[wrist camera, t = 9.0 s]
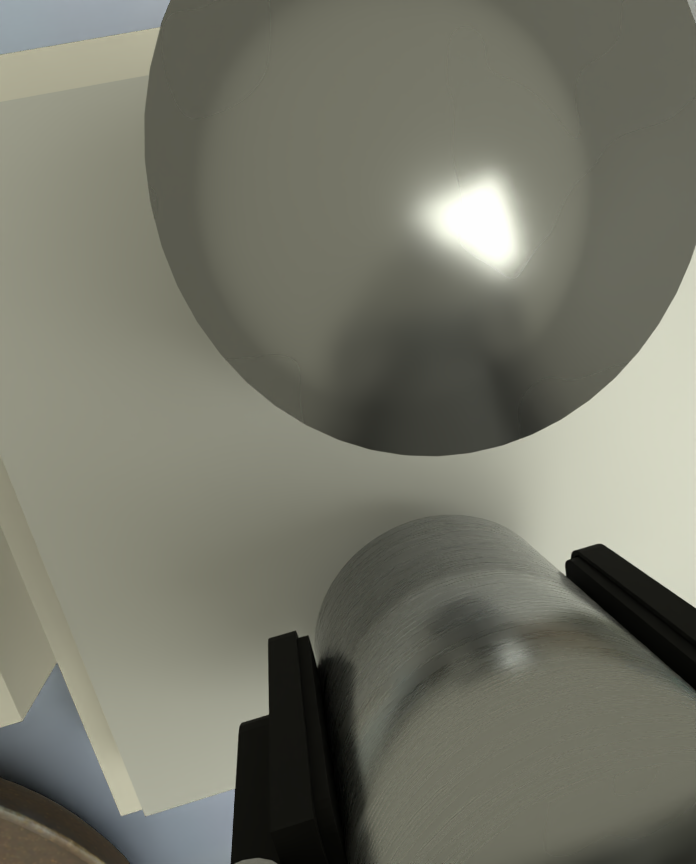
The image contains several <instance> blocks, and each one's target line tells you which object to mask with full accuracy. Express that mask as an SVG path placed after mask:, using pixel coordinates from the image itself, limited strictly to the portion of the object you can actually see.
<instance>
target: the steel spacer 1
mask: <svg viewBox="0 0 696 864" xmlns="http://www.w3.org/2000/svg"><path fill="white" fill-rule="evenodd" d="M144 136H145V166H146V174H147V181H148V189H149V196H150V204H151V208H152V212H153V216H154V219H155V223H156V227H157V231H158V235H159V239H160V242H161V246H162V249H163V251H164V254H165V256H166V259H167V261H168V264H169V266H170V269H171V271H172V274H173V276H174V279H175V281H176V284H177V286H178V288H179V290H180V292H181V294H182V295H183V297H184V299H185V301H186V303H187V305H188V306H189V308H190V310H191V312H192V314H193V315H194V317H195V319H196V321H197V323H198V324H199V325H200V327H201V328H202V330H203V331H204V332H205V334H206V335H207V336H208V338H209V339H210V341H211V342H212V343H213V345H214V346H215V347H216V349H217V350H218V352H219V353H220V354H221V355H222V356H223V358H224V359H225V360H226V361H227V362H228V363H229V364H230V365H231V366H232V367H233V368H234V369H235V370H236V371H237V372H238V374H239V375H240V376H241V377H242V378H243V379H244V380H245V381H246V382H247V383H248V384H249V385H251V386H252V387H253V388H254V389H255V390H257V391H258V392H259V393H260V394H262V395H263V396H264V397H265V398H266V399H268V400H269V401H270V402H271V403H272V404H274V405H275V406H276V407H278V408H279V409H281V410H283V411H284V412H286V413H287V414H289V415H291V416H292V417H294V418H295V419H297V420H299V421H300V422H302V423H303V424H305V425H307V426H309V427H311V428H313V429H315V430H318V431H320V432H322V433H324V434H326V435H329V436H331V437H333V438H335V439H337V440H340V441H343V442H347V443H350V444H353V445H357V446H360V447H363V448H366V449H370V450H375V451H381V452H387V453H393V454H399V455H408V456H447V455H457V454H467V453H473V452H477V451H482V450H486V449H490V448H494V447H499V446H503V445H505V444H508V443H511V442H513V441H516V440H519V439H522V438H524V437H527V436H530V435H532V434H534V433H536V432H538V431H540V430H542V429H544V428H546V427H548V426H550V425H552V424H554V423H556V422H557V421H559V420H561V419H563V418H564V417H566V416H567V415H569V414H570V413H572V412H573V411H575V410H576V409H578V408H579V407H581V406H582V405H583V404H585V403H586V402H588V401H589V400H591V399H592V398H593V397H594V396H595V395H596V394H597V393H599V392H600V391H601V390H602V389H603V388H604V387H605V386H607V385H608V384H609V383H610V382H611V381H612V380H613V379H615V378H616V377H617V375H618V374H619V373H620V372H621V371H622V370H623V369H624V368H625V367H626V366H627V364H628V363H629V362H630V361H631V360H632V359H633V358H634V357H635V356H636V355H637V353H638V352H639V351H640V350H641V348H642V347H643V345H644V344H645V343H646V341H647V340H648V339H649V337H650V336H651V334H652V333H653V332H654V330H655V329H656V327H657V326H658V325H659V323H660V321H661V320H662V318H663V316H664V314H665V313H666V311H667V309H668V307H669V306H670V304H671V302H672V300H673V299H674V297H675V295H676V293H677V291H678V289H679V286H680V284H681V282H682V279H683V277H684V275H685V273H686V270H687V268H688V266H689V263H690V261H691V258H692V255H693V252H694V249H695V246H696V23H695V21H694V18H693V15H692V13H691V10H690V7H689V5H688V2H687V0H170V3H169V5H168V8H167V10H166V13H165V15H164V18H163V20H162V23H161V27H160V30H159V34H158V38H157V42H156V46H155V50H154V54H153V58H152V62H151V66H150V71H149V80H148V88H147V96H146V104H145V113H144Z"/></svg>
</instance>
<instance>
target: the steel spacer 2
mask: <svg viewBox="0 0 696 864" xmlns="http://www.w3.org/2000/svg"><path fill="white" fill-rule="evenodd" d="M314 648H315V659H316V664H317V668H318V674H319V681H320V687H321V694H322V700H323V707H324V714H325V720H326V727H327V733H328V740H329V747H330V753H331V760H332V767H333V773H334V780H335V786H336V793H337V800H338V806H339V813H340V819H341V826H342V833H343V839H344V846H345V852H346V859H347V864H696V690H695V689H694V688H692V687H691V686H690V685H689V684H688V683H687V682H686V681H684V680H683V679H682V678H681V677H680V676H679V675H678V674H676V673H675V672H674V671H673V670H672V669H671V668H670V667H669V666H667V665H666V664H665V663H664V662H663V661H662V660H661V659H659V658H658V657H657V656H656V655H655V654H654V653H653V652H651V651H650V650H649V649H648V648H647V647H646V646H645V645H644V644H642V643H641V642H640V641H639V640H638V639H637V638H636V637H634V636H633V635H632V634H631V633H630V632H629V631H628V630H626V629H625V628H624V627H623V626H622V625H621V624H620V623H619V622H617V621H616V620H615V619H614V618H613V617H612V616H611V615H609V614H608V613H607V612H606V611H605V610H604V609H603V608H601V607H600V606H599V605H598V604H597V603H596V602H595V601H593V600H592V599H591V598H590V597H589V596H588V595H587V594H586V593H584V592H583V591H582V590H581V589H580V588H579V587H578V586H576V585H575V584H574V583H573V582H572V581H571V580H570V579H568V578H567V577H566V576H565V575H564V574H563V573H562V572H561V571H559V570H558V569H557V568H556V567H555V566H554V565H553V564H551V563H550V562H549V561H548V560H547V559H546V558H545V557H543V556H542V555H541V554H540V553H539V552H538V551H537V550H535V549H534V548H533V547H532V546H531V545H530V544H529V543H528V542H526V541H525V540H524V539H523V538H522V537H521V536H519V535H518V534H516V533H515V532H513V531H512V530H510V529H508V528H507V527H504V526H502V525H500V524H498V523H496V522H493V521H490V520H486V519H483V518H479V517H474V516H467V515H439V516H430V517H425V518H421V519H417V520H413V521H410V522H407V523H405V524H402V525H400V526H397V527H395V528H393V529H391V530H389V531H387V532H385V533H383V534H381V535H380V536H378V537H377V538H375V539H374V540H372V541H371V542H369V543H368V544H366V545H365V546H364V547H363V548H362V549H361V550H360V551H358V552H357V553H356V554H355V555H354V556H353V557H352V558H351V559H350V560H349V561H348V562H347V563H346V565H345V566H344V567H343V568H342V569H341V570H340V572H339V573H338V575H337V576H336V578H335V579H334V581H333V582H332V583H331V585H330V587H329V589H328V591H327V593H326V595H325V597H324V599H323V602H322V605H321V608H320V610H319V613H318V618H317V623H316V627H315V640H314Z"/></svg>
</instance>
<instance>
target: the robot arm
mask: <svg viewBox="0 0 696 864" xmlns="http://www.w3.org/2000/svg"><path fill="white" fill-rule="evenodd" d="M565 571H566V577H567V578H568V579H570V580H571V581H572V582H573V583H574V584H575V585H576V586H578V587H579V588H580V589H581V590H582V591H583V592H584V593H586V594H587V595H588V596H589V597H590V598H591V599H592V600H593V601H595V602H596V603H597V604H598V605H599V606H600V607H601V608H603V609H604V610H605V611H606V612H607V613H608V614H609V615H611V616H612V617H613V618H614V619H615V620H616V621H617V622H619V623H620V624H621V625H622V626H623V627H624V628H625V629H626V630H628V631H629V632H630V633H631V634H632V635H633V636H634V637H636V638H637V639H638V640H639V641H640V642H641V643H642V644H644V645H645V646H646V647H647V648H648V649H649V650H650V651H651V652H653V653H654V654H655V655H656V656H657V657H658V658H659V659H661V660H662V661H663V662H664V663H665V664H666V665H667V666H669V667H670V668H671V669H672V670H673V671H674V672H675V673H676V674H678V675H679V676H680V677H681V678H682V679H683V680H684V681H686V682H687V683H688V684H689V685H690V686H691V687H692V688H694V689H695V690H696V608H695V607H693V606H692V605H690V604H689V603H688V602H686V601H685V600H683V599H682V598H680V597H679V596H677V595H676V594H675V593H673V592H672V591H670V590H669V589H667V588H666V587H664V586H663V585H662V584H660V583H659V582H657V581H656V580H654V579H653V578H651V577H650V576H648V575H647V574H646V573H644V572H643V571H641V570H640V569H638V568H637V567H635V566H634V565H633V564H631V563H630V562H628V561H627V560H625V559H624V558H622V557H621V556H620V555H618V554H617V553H615V552H614V551H612V550H611V549H609V548H608V547H606V546H605V545H603V544H595V545H591V546H588V547H584V548H581V549H577V550H574V551H573V552H572V554H571V559H569V560H567V561H566V562H565ZM268 685H269V715H266V716H262V717H259V718H256V719H252V720H249V721H246V722H242V723H241V724H240V726H239V733H238V750H237V767H236V784H235V801H234V818H233V835H232V852H231V864H347V859H346V852H345V846H344V839H343V833H342V826H341V819H340V813H339V806H338V800H337V793H336V786H335V780H334V773H333V767H332V760H331V753H330V747H329V740H328V733H327V727H326V720H325V714H324V707H323V700H322V694H321V687H320V681H319V674H318V668H317V664H316V660H315V657H314V653H313V649H312V646H311V642H310V639H309V636H308V635H306V636H303V637H299V638H298V634H297V632H296V630H295V631H292V632H288V633H285V634H282V635H278V636H275V637H271V638H269V639H268Z"/></svg>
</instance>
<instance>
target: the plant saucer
mask: <svg viewBox="0 0 696 864" xmlns="http://www.w3.org/2000/svg"><path fill="white" fill-rule="evenodd" d="M0 864H130V863H129V861H128V860H127V859H126V858H125V857H124V856H123V855H122V854H121V853H120V852H119V851H118V850H117V849H116V848H115V847H114V846H113V845H112V844H111V843H110V842H109V841H108V840H107V839H105V838H104V837H103V836H102V835H101V834H99V833H98V832H97V831H96V830H95V829H93V828H92V827H91V826H90V825H88V824H87V823H86V822H84V821H83V820H82V819H80V818H79V817H78V816H76V815H75V814H73V813H72V812H70V811H69V810H67V809H66V808H64V807H63V806H61V805H59V804H57V803H56V802H54V801H52V800H50V799H48V798H47V797H45V796H43V795H41V794H39V793H37V792H34V791H32V790H30V789H28V788H25V787H23V786H21V785H19V784H16V783H14V782H11V781H8V780H5V779H2V778H0Z"/></svg>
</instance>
